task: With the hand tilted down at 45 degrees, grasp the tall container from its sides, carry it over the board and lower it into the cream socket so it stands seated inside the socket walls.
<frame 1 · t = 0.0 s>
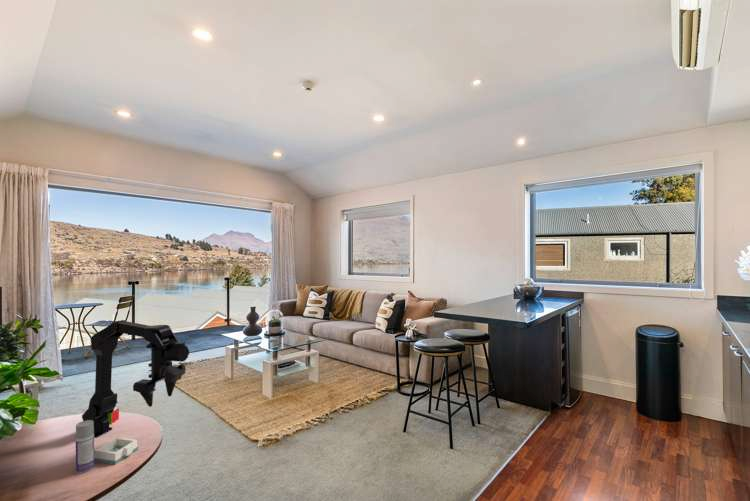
hand: (160, 401, 134), 15 cm above the table, tool pointing down, fingers open, 9 cm apart
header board: (116, 455, 124), on the table
rubik's cube: (109, 422, 149), on the table
container: (85, 469, 117), on the table
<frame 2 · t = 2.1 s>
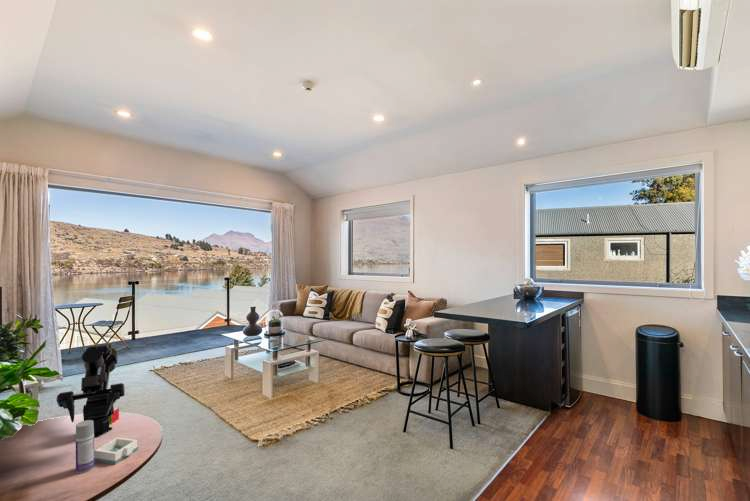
hand: (89, 418, 123), 13 cm above the table, tool tilted 45°, fingers open, 9 cm apart
nothing on the table moved.
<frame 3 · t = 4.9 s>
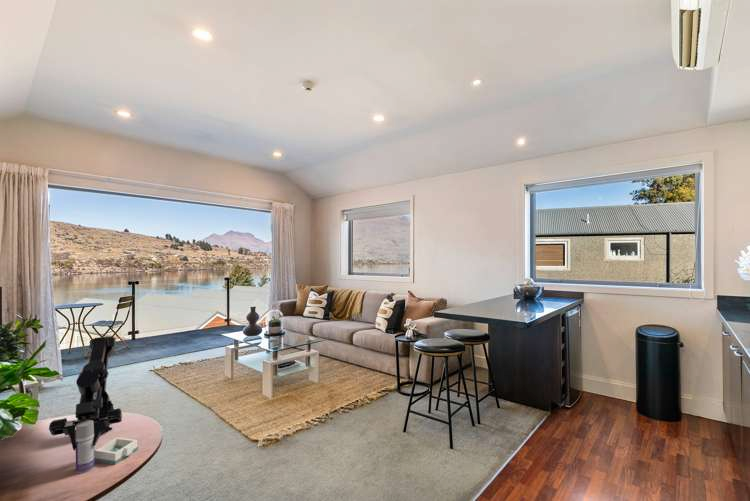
hand: (84, 447, 115), 8 cm above the table, tool tilted 45°, fingers closed on container, 5 cm apart
container: (85, 469, 117), on the table, touching gripper
everything else where it was.
when the fingers open (10 cm above the table, at t = 7.7 s): container drops 1 cm, resting on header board.
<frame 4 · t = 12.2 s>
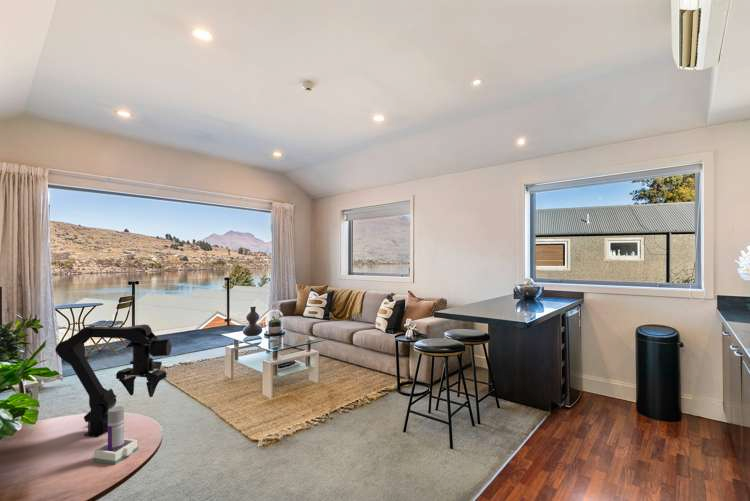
hand: (141, 396, 143), 13 cm above the table, tool pointing down, fingers open, 9 cm apart
container: (116, 452, 125), point 1 cm above the table, touching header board
everything else where it was.
at the end: container 0.2 cm off-centre on the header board, point 0.9 cm above the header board's base; container tilted 0°; the gripper is holding nothing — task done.
